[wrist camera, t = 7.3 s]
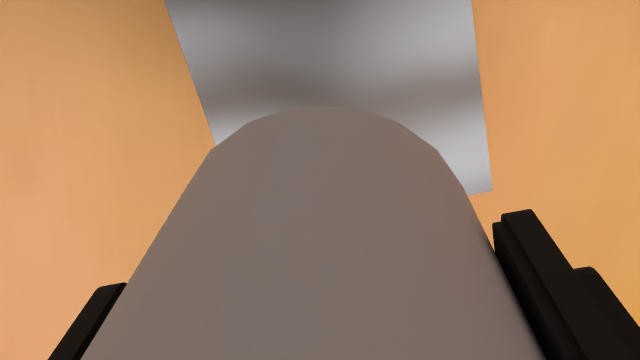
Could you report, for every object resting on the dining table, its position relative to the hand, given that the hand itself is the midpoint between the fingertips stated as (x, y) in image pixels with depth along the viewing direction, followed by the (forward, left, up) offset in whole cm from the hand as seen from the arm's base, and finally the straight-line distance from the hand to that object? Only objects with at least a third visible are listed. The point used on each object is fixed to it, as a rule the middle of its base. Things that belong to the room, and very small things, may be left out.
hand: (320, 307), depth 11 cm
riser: (0, 0, -20) cm, 20 cm away
